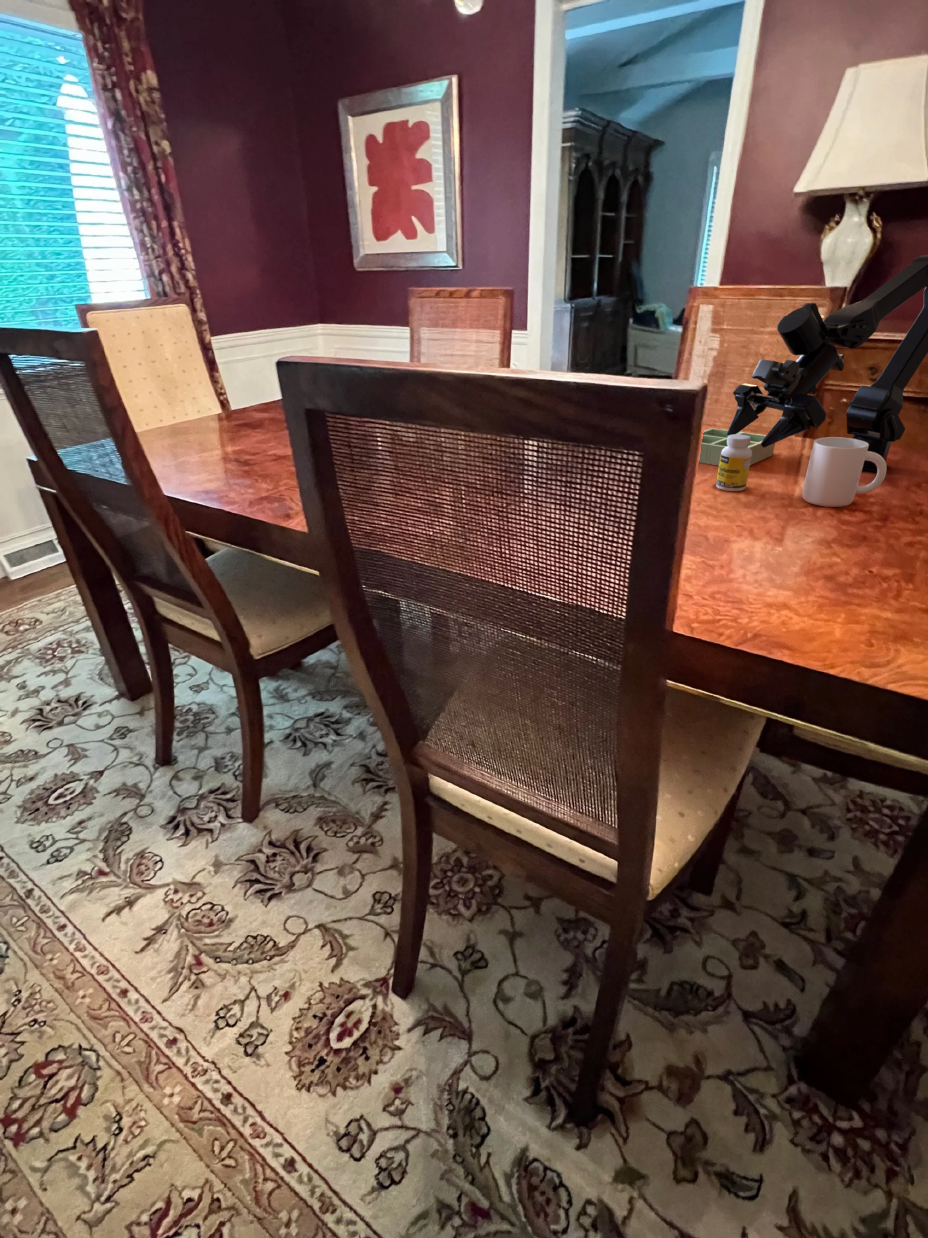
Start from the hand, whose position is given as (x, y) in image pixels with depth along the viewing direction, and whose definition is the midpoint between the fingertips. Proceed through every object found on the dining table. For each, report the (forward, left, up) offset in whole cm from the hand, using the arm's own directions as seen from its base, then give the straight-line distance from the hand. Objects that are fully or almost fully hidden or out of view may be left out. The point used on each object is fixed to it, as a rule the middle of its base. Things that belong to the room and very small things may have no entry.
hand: (744, 440), depth 116 cm
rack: (+13, -20, -9) cm, 25 cm away
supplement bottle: (+1, +1, -9) cm, 9 cm away
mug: (-17, -3, -9) cm, 20 cm away
